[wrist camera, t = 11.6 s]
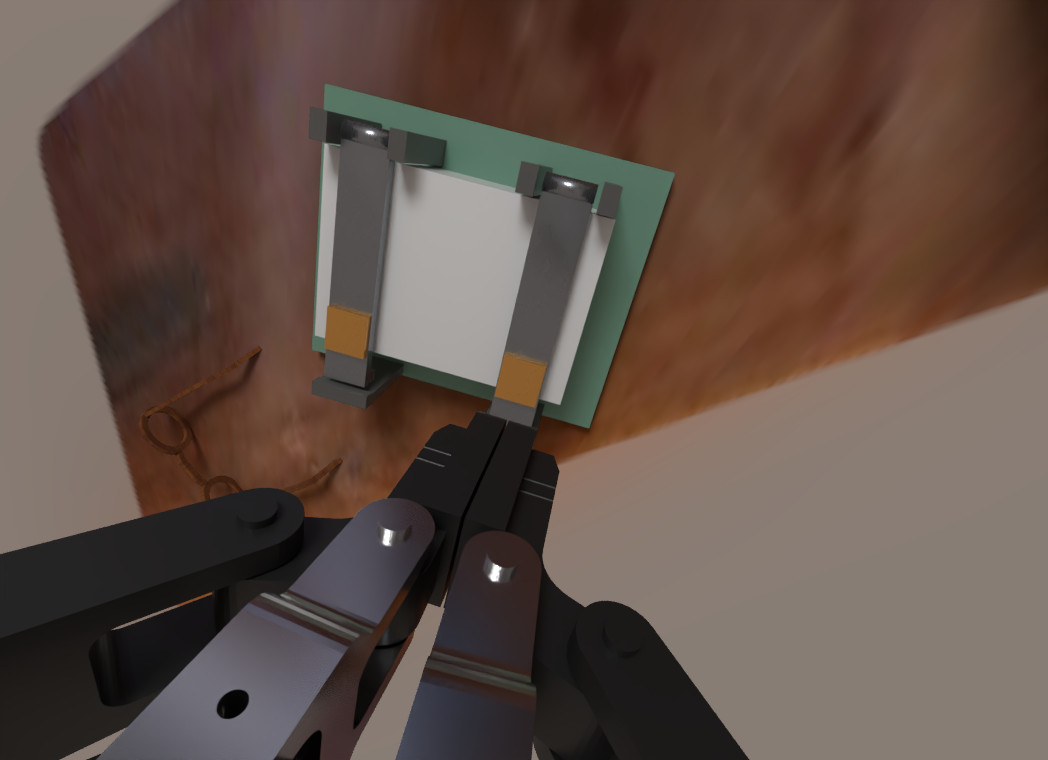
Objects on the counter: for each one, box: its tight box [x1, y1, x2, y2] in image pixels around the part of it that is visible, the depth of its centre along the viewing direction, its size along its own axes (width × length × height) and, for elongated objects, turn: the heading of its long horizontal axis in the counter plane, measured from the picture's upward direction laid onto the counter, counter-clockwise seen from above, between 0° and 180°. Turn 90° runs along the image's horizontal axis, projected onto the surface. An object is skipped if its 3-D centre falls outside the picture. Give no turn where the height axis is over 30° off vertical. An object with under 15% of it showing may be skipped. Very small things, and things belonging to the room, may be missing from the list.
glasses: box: [139, 346, 342, 502], centre depth 44 cm, size 13×13×5 cm
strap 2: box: [490, 171, 599, 427], centre depth 30 cm, size 16×3×2 cm, turn 167°
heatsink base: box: [309, 84, 675, 449], centre depth 33 cm, size 20×24×8 cm
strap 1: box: [324, 119, 395, 387], centre depth 31 cm, size 16×3×2 cm, turn 167°
